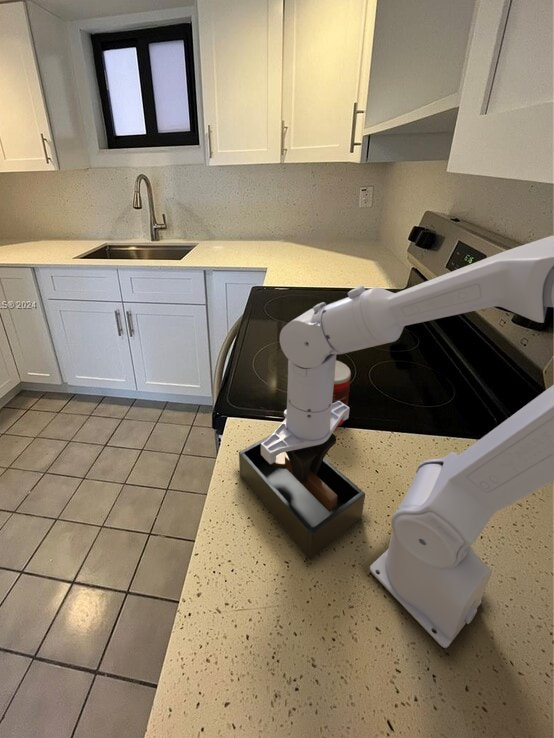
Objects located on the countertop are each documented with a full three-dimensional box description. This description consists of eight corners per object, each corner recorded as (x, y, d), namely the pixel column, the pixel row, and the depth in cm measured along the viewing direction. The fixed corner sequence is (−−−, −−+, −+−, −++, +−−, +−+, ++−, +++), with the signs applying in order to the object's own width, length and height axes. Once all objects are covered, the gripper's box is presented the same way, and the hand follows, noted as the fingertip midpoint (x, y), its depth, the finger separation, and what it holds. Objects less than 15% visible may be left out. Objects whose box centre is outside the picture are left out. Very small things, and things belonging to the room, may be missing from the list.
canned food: (315, 398, 76) (318, 353, 71) (352, 413, 71) (357, 366, 66) (297, 417, 70) (300, 371, 66) (336, 435, 65) (341, 386, 61)
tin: (361, 518, 51) (365, 493, 49) (310, 560, 46) (312, 534, 44) (286, 447, 63) (287, 425, 61) (239, 474, 58) (238, 452, 56)
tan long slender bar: (343, 501, 48) (344, 490, 47) (322, 517, 46) (323, 506, 45) (282, 445, 58) (283, 435, 57) (263, 456, 56) (263, 445, 55)
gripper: (325, 365, 52) (319, 436, 58) (246, 402, 45) (247, 479, 51) (365, 389, 47) (355, 464, 52) (282, 435, 40) (280, 517, 45)
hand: (304, 474), depth 51 cm, fingers closed on tan long slender bar, 1 cm apart
